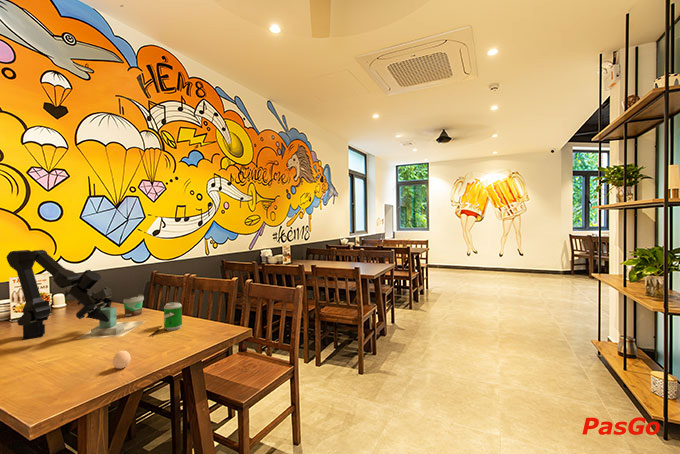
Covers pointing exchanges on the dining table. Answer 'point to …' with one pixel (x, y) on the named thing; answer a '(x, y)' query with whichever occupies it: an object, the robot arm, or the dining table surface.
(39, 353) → the dining table surface
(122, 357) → the egg
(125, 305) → the food container
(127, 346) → the dining table surface
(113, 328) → the block
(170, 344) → the dining table surface
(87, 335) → the birch board
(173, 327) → the soda can
